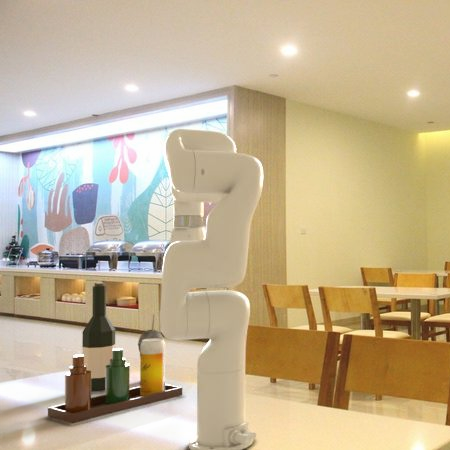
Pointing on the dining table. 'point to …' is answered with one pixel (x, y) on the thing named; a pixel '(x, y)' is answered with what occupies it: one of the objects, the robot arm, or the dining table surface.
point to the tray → (101, 409)
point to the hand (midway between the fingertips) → (188, 288)
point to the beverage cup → (149, 334)
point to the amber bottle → (78, 386)
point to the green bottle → (117, 378)
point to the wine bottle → (98, 339)
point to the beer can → (152, 366)
